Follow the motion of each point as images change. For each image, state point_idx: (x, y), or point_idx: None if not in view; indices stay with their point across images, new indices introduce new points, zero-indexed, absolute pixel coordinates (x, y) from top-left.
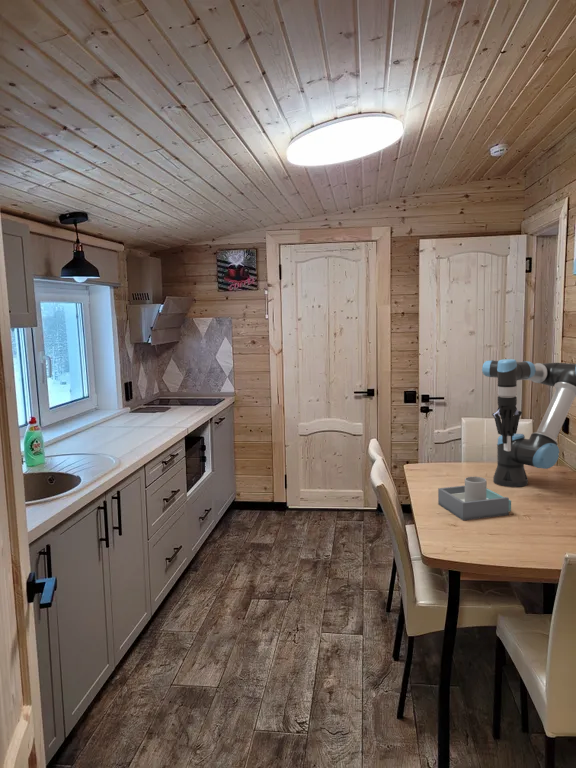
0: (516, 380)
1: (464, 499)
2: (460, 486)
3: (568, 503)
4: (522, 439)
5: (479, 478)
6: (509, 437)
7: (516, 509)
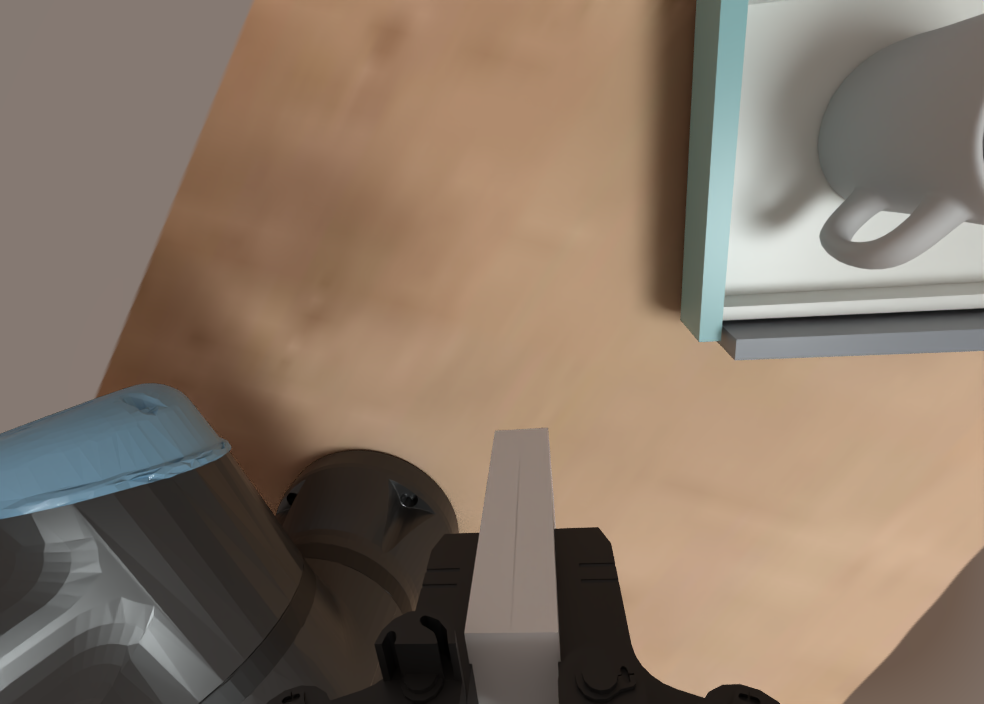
0: None
1: (879, 273)
2: (939, 340)
3: (214, 114)
4: None
5: (981, 184)
6: (504, 604)
7: (594, 78)
